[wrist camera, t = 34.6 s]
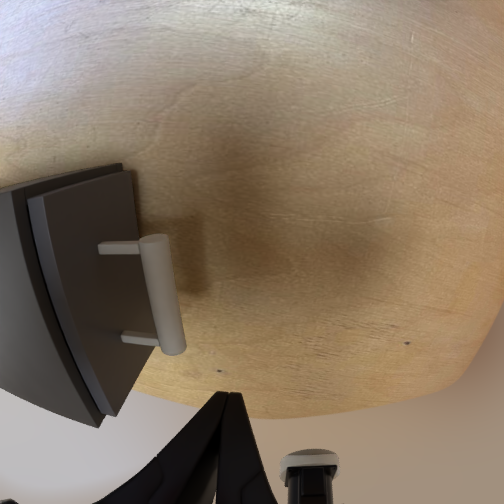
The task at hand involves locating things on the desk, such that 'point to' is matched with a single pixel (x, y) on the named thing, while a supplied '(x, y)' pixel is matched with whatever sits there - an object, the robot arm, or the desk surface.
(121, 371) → the drawer
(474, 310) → the desk surface
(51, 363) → the cabinet
